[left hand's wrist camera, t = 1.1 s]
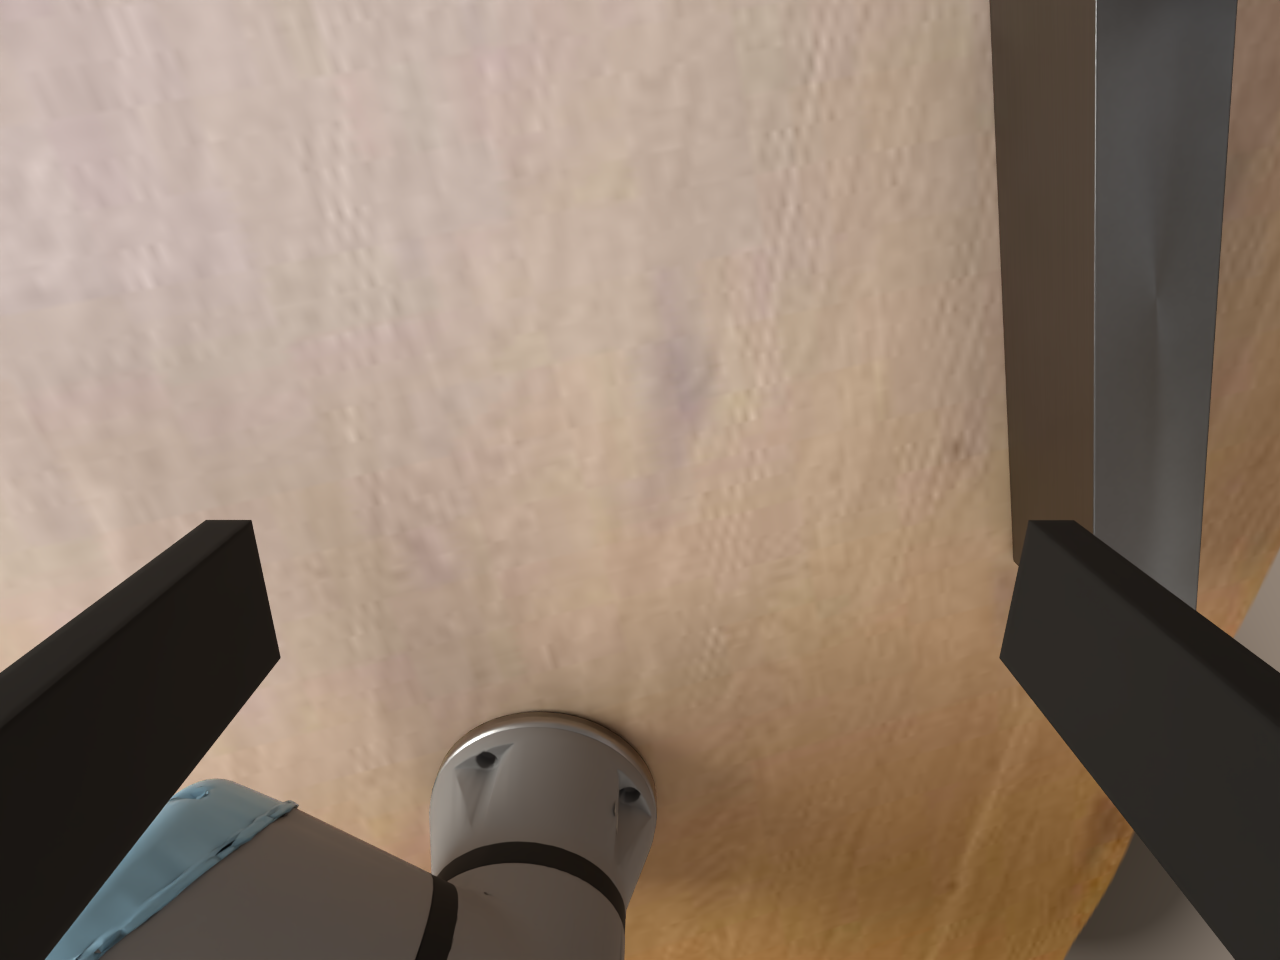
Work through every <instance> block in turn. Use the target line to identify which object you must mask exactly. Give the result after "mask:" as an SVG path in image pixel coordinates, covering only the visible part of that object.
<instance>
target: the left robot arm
mask: <svg viewBox="0 0 1280 960" xmlns="http://www.w3.org/2000/svg"><path fill="white" fill-rule="evenodd" d="M279 659H280V653H279V648H278V643H277V639H276V634H275V629H274V624H273V620H272V615H271V610H270V606H269V601H268V596H267V591H266V587H265V582H264V577H263V573H262V568H261V563H260V558H259V554H258V549H257V544H256V540H255V535H254V530H253V525H252V521H251V520H206V521H204V522H203V523H201V524H200V525H199V526H197V527H196V528H195V529H193V530H192V531H191V532H189V533H188V534H187V535H185V536H184V537H183V538H181V539H180V540H179V541H177V542H176V543H175V544H173V545H172V546H171V547H169V548H168V549H166V550H165V551H164V552H162V553H161V554H160V555H158V556H157V557H156V558H154V559H153V560H152V561H150V562H149V563H148V564H146V565H145V566H144V567H142V568H141V569H140V570H138V571H137V572H136V573H134V574H133V575H131V576H130V577H129V578H127V579H126V580H125V581H123V582H122V583H121V584H119V585H118V586H117V587H115V588H114V589H113V590H111V591H110V592H109V593H107V594H106V595H105V596H103V597H102V598H101V599H99V600H98V601H96V602H95V603H94V604H92V605H91V606H90V607H88V608H87V609H86V610H84V611H83V612H82V613H80V614H79V615H78V616H76V617H75V618H74V619H72V620H71V621H70V622H68V623H67V624H66V625H64V626H63V627H61V628H60V629H59V630H57V631H56V632H55V633H53V634H52V635H51V636H49V637H48V638H47V639H45V640H44V641H43V642H41V643H40V644H39V645H37V646H36V647H35V648H33V649H32V650H31V651H29V652H28V653H26V654H25V655H24V656H22V657H21V658H20V659H18V660H17V661H16V662H14V663H13V664H12V665H10V666H9V667H8V668H6V669H5V670H4V671H2V672H1V673H0V960H624V952H625V919H626V909H627V907H628V904H629V902H630V899H631V897H632V894H633V891H634V889H635V886H636V884H637V881H638V879H639V876H640V874H641V871H642V869H643V866H644V863H645V861H646V858H647V856H648V853H649V851H650V848H651V845H652V842H653V837H654V832H655V827H656V818H657V801H656V790H655V785H654V782H653V778H652V776H651V774H650V771H649V769H648V767H647V766H646V764H645V762H644V761H643V759H642V758H641V757H640V756H639V754H638V753H637V752H636V751H635V750H634V749H633V748H632V747H631V746H630V745H629V744H628V743H627V742H626V741H624V740H623V739H622V738H621V737H619V736H618V735H616V734H615V733H613V732H612V731H610V730H608V729H607V728H605V727H603V726H600V725H598V724H596V723H594V722H591V721H589V720H586V719H583V718H579V717H576V716H572V715H567V714H561V713H554V712H525V713H517V714H511V715H506V716H503V717H499V718H496V719H493V720H491V721H488V722H486V723H484V724H482V725H480V726H478V727H476V728H474V729H473V730H471V731H469V732H468V733H467V734H466V735H464V736H463V737H462V738H461V739H460V740H458V741H457V742H456V743H455V744H454V746H453V747H452V748H451V749H450V750H449V752H448V753H447V755H446V756H445V758H444V760H443V762H442V764H441V766H440V769H439V772H438V775H437V778H436V780H435V783H434V786H433V790H432V795H431V802H430V811H429V820H430V844H431V871H432V874H431V873H428V872H426V871H424V870H422V869H420V868H418V867H416V866H414V865H412V864H410V863H408V862H406V861H404V860H402V859H400V858H398V857H395V856H393V855H391V854H389V853H387V852H385V851H383V850H381V849H379V848H377V847H375V846H373V845H371V844H369V843H367V842H364V841H362V840H360V839H358V838H356V837H354V836H352V835H350V834H348V833H346V832H344V831H342V830H340V829H338V828H336V827H334V826H331V825H329V824H327V823H325V822H323V821H321V820H319V819H317V818H315V817H313V816H311V815H309V814H307V813H305V812H303V811H300V810H298V809H297V808H298V806H299V805H298V804H296V803H295V802H293V801H286V802H281V801H278V800H276V799H274V798H271V797H269V796H266V795H264V794H262V793H259V792H257V791H254V790H252V789H250V788H247V787H245V786H242V785H240V784H238V783H235V782H233V781H229V780H225V779H208V780H204V781H200V782H197V783H195V784H192V785H190V786H188V787H186V788H184V789H183V790H181V791H179V792H178V793H176V794H175V792H176V791H177V790H178V789H179V787H180V786H181V785H182V783H183V782H184V781H185V780H186V778H187V777H188V776H189V774H190V773H191V772H192V771H193V769H194V768H195V767H196V766H197V764H198V763H199V762H200V760H201V759H202V758H203V757H204V755H205V754H206V753H207V751H208V750H209V749H210V748H211V746H212V745H213V744H214V742H215V741H216V740H217V739H218V737H219V736H220V735H221V733H222V732H223V731H224V730H225V728H226V727H227V726H228V725H229V723H230V722H231V721H232V719H233V718H234V717H235V716H236V714H237V713H238V712H239V710H240V709H241V708H242V707H243V705H244V704H245V703H246V701H247V700H248V699H249V698H250V696H251V695H252V694H253V693H254V691H255V690H256V689H257V687H258V686H259V685H260V684H261V682H262V681H263V680H264V678H265V677H266V676H267V675H268V673H269V672H270V671H271V669H272V668H273V667H274V666H275V664H276V663H277V662H278V661H279ZM1000 659H1001V661H1002V662H1003V663H1004V664H1005V666H1006V667H1007V668H1008V669H1009V671H1010V672H1011V673H1012V675H1013V676H1014V677H1015V678H1016V680H1017V681H1018V682H1019V684H1020V685H1021V686H1022V687H1023V689H1024V690H1025V691H1026V693H1027V694H1028V695H1029V696H1030V698H1031V699H1032V700H1033V701H1034V703H1035V704H1036V705H1037V707H1038V708H1039V709H1040V710H1041V712H1042V713H1043V714H1044V716H1045V717H1046V718H1047V719H1048V721H1049V722H1050V723H1051V725H1052V726H1053V727H1054V728H1055V730H1056V731H1057V732H1058V733H1059V735H1060V736H1061V737H1062V739H1063V740H1064V741H1065V742H1066V744H1067V745H1068V746H1069V748H1070V749H1071V750H1072V751H1073V753H1074V754H1075V755H1076V757H1077V758H1078V759H1079V760H1080V762H1081V763H1082V764H1083V766H1084V767H1085V768H1086V769H1087V771H1088V772H1089V773H1090V774H1091V776H1092V777H1093V778H1094V780H1095V781H1096V782H1097V783H1098V785H1099V786H1100V787H1101V789H1102V790H1103V791H1104V792H1105V794H1106V795H1107V796H1108V798H1109V799H1110V800H1111V801H1112V803H1113V804H1114V805H1115V806H1116V808H1117V809H1118V810H1119V812H1120V813H1121V814H1122V815H1123V817H1124V818H1125V819H1126V821H1127V822H1128V823H1129V824H1130V826H1131V827H1132V828H1133V830H1134V831H1135V832H1136V833H1137V835H1138V836H1139V837H1140V838H1141V840H1142V841H1143V842H1144V844H1145V845H1146V846H1147V847H1148V849H1149V850H1150V851H1151V852H1152V854H1153V855H1154V856H1155V858H1156V859H1157V860H1158V862H1159V863H1160V864H1161V865H1162V867H1163V868H1164V869H1165V870H1166V872H1167V873H1168V874H1169V876H1170V877H1171V878H1172V879H1173V881H1174V882H1175V883H1176V885H1177V886H1178V887H1179V888H1180V890H1181V891H1182V892H1183V894H1184V895H1185V896H1186V897H1187V899H1188V900H1189V901H1190V902H1191V904H1192V905H1193V906H1194V908H1195V909H1196V910H1197V911H1198V913H1199V914H1200V915H1201V917H1202V918H1203V919H1204V920H1205V922H1206V923H1207V924H1208V926H1209V927H1210V928H1211V929H1212V931H1213V932H1214V933H1215V934H1216V936H1217V937H1218V938H1219V940H1220V941H1221V942H1222V943H1223V945H1224V946H1225V947H1226V949H1227V950H1228V951H1229V952H1230V954H1231V955H1232V956H1233V958H1234V959H1235V960H1280V673H1279V672H1278V671H1276V670H1275V669H1274V668H1272V667H1271V666H1270V665H1268V664H1267V663H1266V662H1264V661H1263V660H1262V659H1260V658H1259V657H1257V656H1256V655H1255V654H1253V653H1252V652H1251V651H1249V650H1248V649H1247V648H1245V647H1244V646H1243V645H1241V644H1240V643H1239V642H1237V641H1236V640H1235V639H1233V638H1232V637H1231V636H1229V635H1228V634H1227V633H1225V632H1224V631H1223V630H1221V629H1220V628H1219V627H1217V626H1216V625H1214V624H1213V623H1212V622H1210V621H1209V620H1208V619H1206V618H1205V617H1204V616H1202V615H1201V614H1200V613H1198V612H1197V611H1196V610H1194V609H1193V608H1192V607H1190V606H1189V605H1188V604H1186V603H1185V602H1184V601H1182V600H1181V599H1179V598H1178V597H1177V596H1175V595H1174V594H1173V593H1171V592H1170V591H1169V590H1167V589H1166V588H1165V587H1163V586H1162V585H1161V584H1159V583H1158V582H1157V581H1155V580H1154V579H1153V578H1151V577H1150V576H1149V575H1147V574H1146V573H1144V572H1143V571H1142V570H1140V569H1139V568H1138V567H1136V566H1135V565H1134V564H1132V563H1131V562H1130V561H1128V560H1127V559H1126V558H1124V557H1123V556H1122V555H1120V554H1119V553H1118V552H1116V551H1115V550H1114V549H1112V548H1111V547H1109V546H1108V545H1107V544H1105V543H1104V542H1103V541H1101V540H1100V539H1099V538H1097V537H1096V536H1095V535H1093V534H1092V533H1091V532H1089V531H1088V530H1087V529H1085V528H1084V527H1083V526H1081V525H1080V524H1079V523H1077V522H1076V521H1074V520H1029V521H1028V525H1027V530H1026V535H1025V540H1024V544H1023V549H1022V554H1021V558H1020V563H1019V568H1018V573H1017V577H1016V582H1015V587H1014V591H1013V596H1012V601H1011V606H1010V610H1009V615H1008V620H1007V624H1006V629H1005V634H1004V639H1003V643H1002V648H1001V653H1000ZM174 794H175V795H174ZM173 795H174V796H173Z"/></svg>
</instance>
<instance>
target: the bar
mask: <svg viewBox="0 0 1280 960" xmlns="http://www.w3.org/2000/svg"><path fill="white" fill-rule="evenodd" d="M1236 15H1237V0H990V18H991V42H992V65H993V89H994V112H995V136H996V159H997V182H998V206H999V229H1000V253H1001V276H1002V300H1003V323H1004V347H1005V370H1006V393H1007V417H1008V440H1009V464H1010V487H1011V511H1012V534H1013V558H1014V562H1015V563H1016V564H1017V565H1018V566H1019V563H1020V558H1021V554H1022V549H1023V544H1024V540H1025V535H1026V530H1027V525H1028V521H1029V520H1074V521H1076V522H1077V523H1079V524H1080V525H1081V526H1083V527H1084V528H1085V529H1087V530H1088V531H1089V532H1091V533H1092V534H1093V535H1095V536H1096V537H1097V538H1099V539H1100V540H1101V541H1103V542H1104V543H1105V544H1107V545H1108V546H1109V547H1111V548H1112V549H1114V550H1115V551H1116V552H1118V553H1119V554H1120V555H1122V556H1123V557H1124V558H1126V559H1127V560H1128V561H1130V562H1131V563H1132V564H1134V565H1135V566H1136V567H1138V568H1139V569H1140V570H1142V571H1143V572H1144V573H1146V574H1147V575H1149V576H1150V577H1151V578H1153V579H1154V580H1155V581H1157V582H1158V583H1159V584H1161V585H1162V586H1163V587H1165V588H1166V589H1167V590H1169V591H1170V592H1171V593H1173V594H1174V595H1175V596H1177V597H1178V598H1179V599H1181V600H1182V601H1184V602H1185V603H1186V604H1188V605H1189V606H1190V607H1192V608H1193V609H1194V610H1196V605H1197V590H1198V575H1199V561H1200V546H1201V531H1202V516H1203V502H1204V487H1205V472H1206V457H1207V443H1208V428H1209V413H1210V398H1211V384H1212V369H1213V354H1214V339H1215V325H1216V310H1217V295H1218V281H1219V266H1220V251H1221V236H1222V222H1223V207H1224V192H1225V177H1226V163H1227V148H1228V133H1229V118H1230V104H1231V89H1232V74H1233V59H1234V45H1235V30H1236Z"/></svg>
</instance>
